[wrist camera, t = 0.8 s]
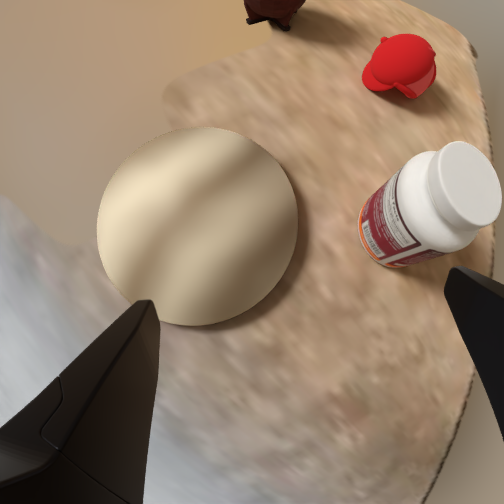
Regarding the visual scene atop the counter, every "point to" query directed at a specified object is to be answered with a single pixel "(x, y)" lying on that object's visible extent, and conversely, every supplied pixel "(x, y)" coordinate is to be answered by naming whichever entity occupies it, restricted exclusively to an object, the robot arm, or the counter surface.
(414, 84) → the cap
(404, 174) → the pill bottle
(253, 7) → the mate gourd
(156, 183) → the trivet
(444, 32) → the counter surface
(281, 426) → the counter surface
